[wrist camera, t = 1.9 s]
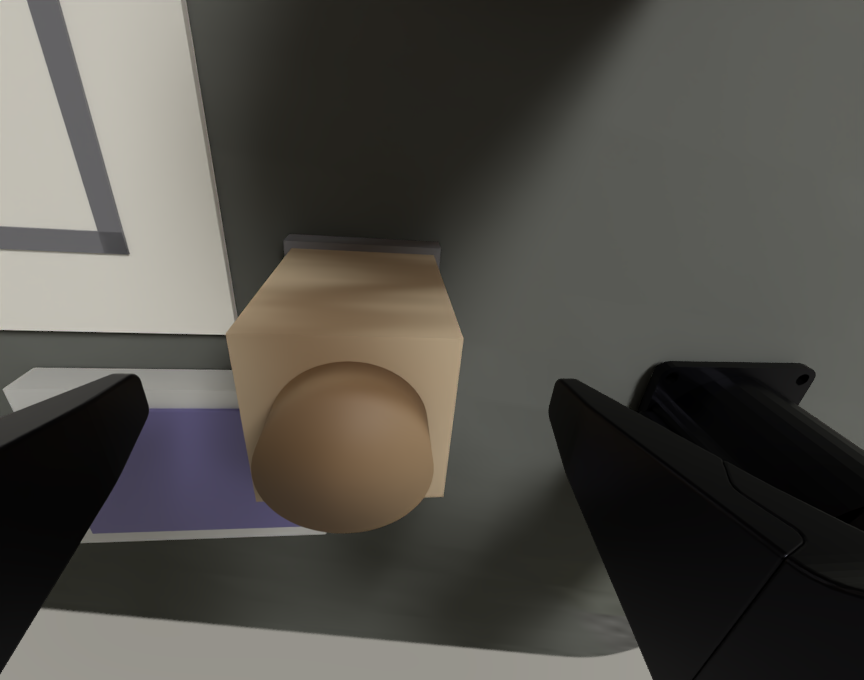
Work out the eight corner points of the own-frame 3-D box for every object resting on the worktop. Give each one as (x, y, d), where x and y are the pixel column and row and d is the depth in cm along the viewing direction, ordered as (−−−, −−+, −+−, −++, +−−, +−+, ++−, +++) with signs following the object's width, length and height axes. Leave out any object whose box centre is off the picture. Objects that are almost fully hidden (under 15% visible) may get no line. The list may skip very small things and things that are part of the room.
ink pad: (321, 371, 14) (315, 393, 13) (329, 509, 17) (325, 537, 16) (33, 367, 13) (-2, 392, 12) (100, 516, 16) (78, 546, 15)
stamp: (438, 241, 12) (491, 365, 6) (427, 364, 14) (459, 552, 8) (289, 233, 12) (176, 360, 5) (300, 362, 14) (228, 562, 8)
